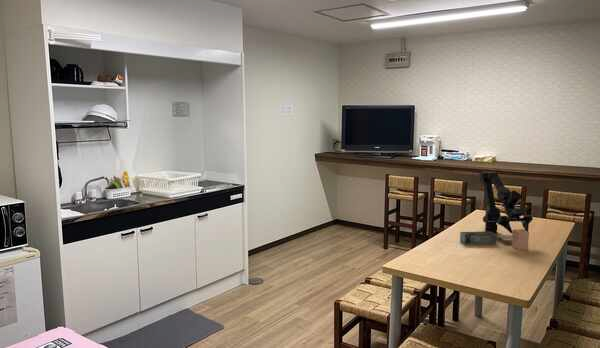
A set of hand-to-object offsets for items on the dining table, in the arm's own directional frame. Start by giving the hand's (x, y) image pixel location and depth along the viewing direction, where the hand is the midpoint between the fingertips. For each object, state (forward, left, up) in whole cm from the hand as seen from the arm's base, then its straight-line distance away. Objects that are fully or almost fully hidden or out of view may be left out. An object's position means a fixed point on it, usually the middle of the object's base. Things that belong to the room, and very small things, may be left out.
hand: (519, 232), depth 251 cm
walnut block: (-4, +10, -9) cm, 14 cm away
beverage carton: (-21, +4, -9) cm, 23 cm away
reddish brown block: (0, -1, -9) cm, 9 cm away
